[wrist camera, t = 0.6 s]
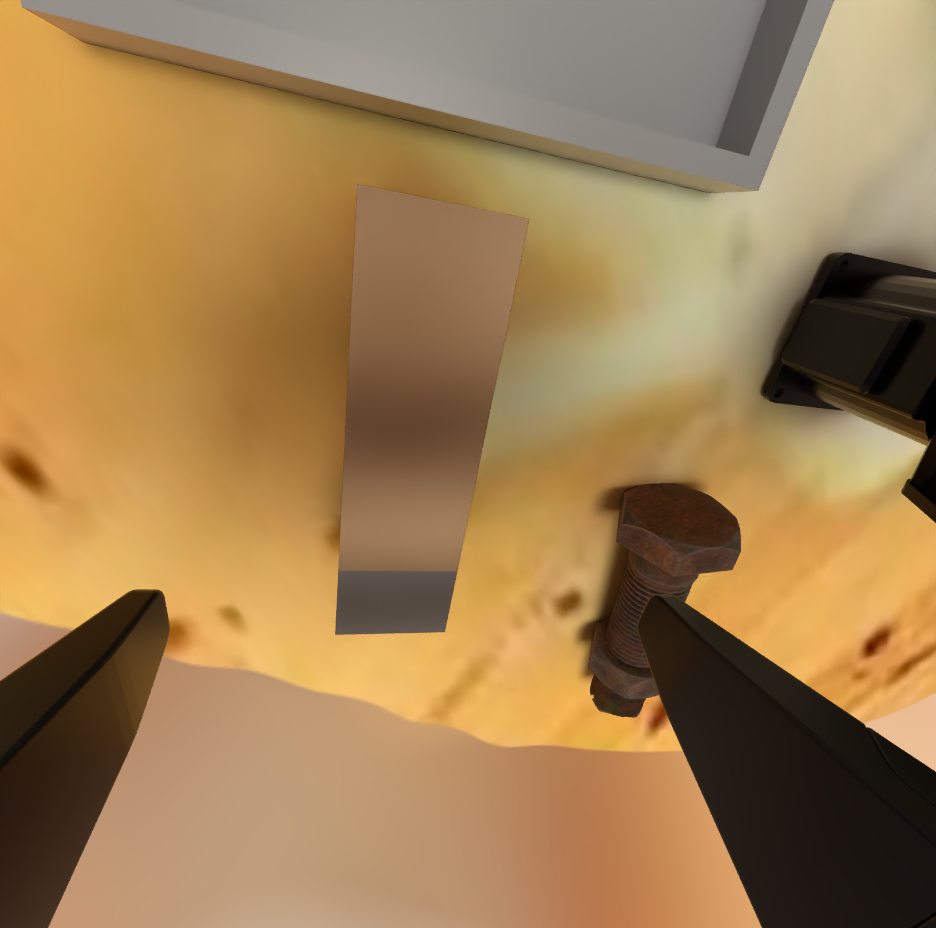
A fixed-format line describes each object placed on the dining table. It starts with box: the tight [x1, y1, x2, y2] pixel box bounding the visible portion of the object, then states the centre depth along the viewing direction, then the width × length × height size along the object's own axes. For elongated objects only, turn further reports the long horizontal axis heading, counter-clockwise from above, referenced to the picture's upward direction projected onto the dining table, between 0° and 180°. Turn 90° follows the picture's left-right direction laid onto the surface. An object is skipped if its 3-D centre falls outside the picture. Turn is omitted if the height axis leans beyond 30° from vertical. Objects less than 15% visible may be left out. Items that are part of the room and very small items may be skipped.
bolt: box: [589, 483, 741, 717], centre depth 25 cm, size 6×5×15 cm
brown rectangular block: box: [335, 184, 529, 635], centre depth 16 cm, size 14×4×6 cm, turn 170°
